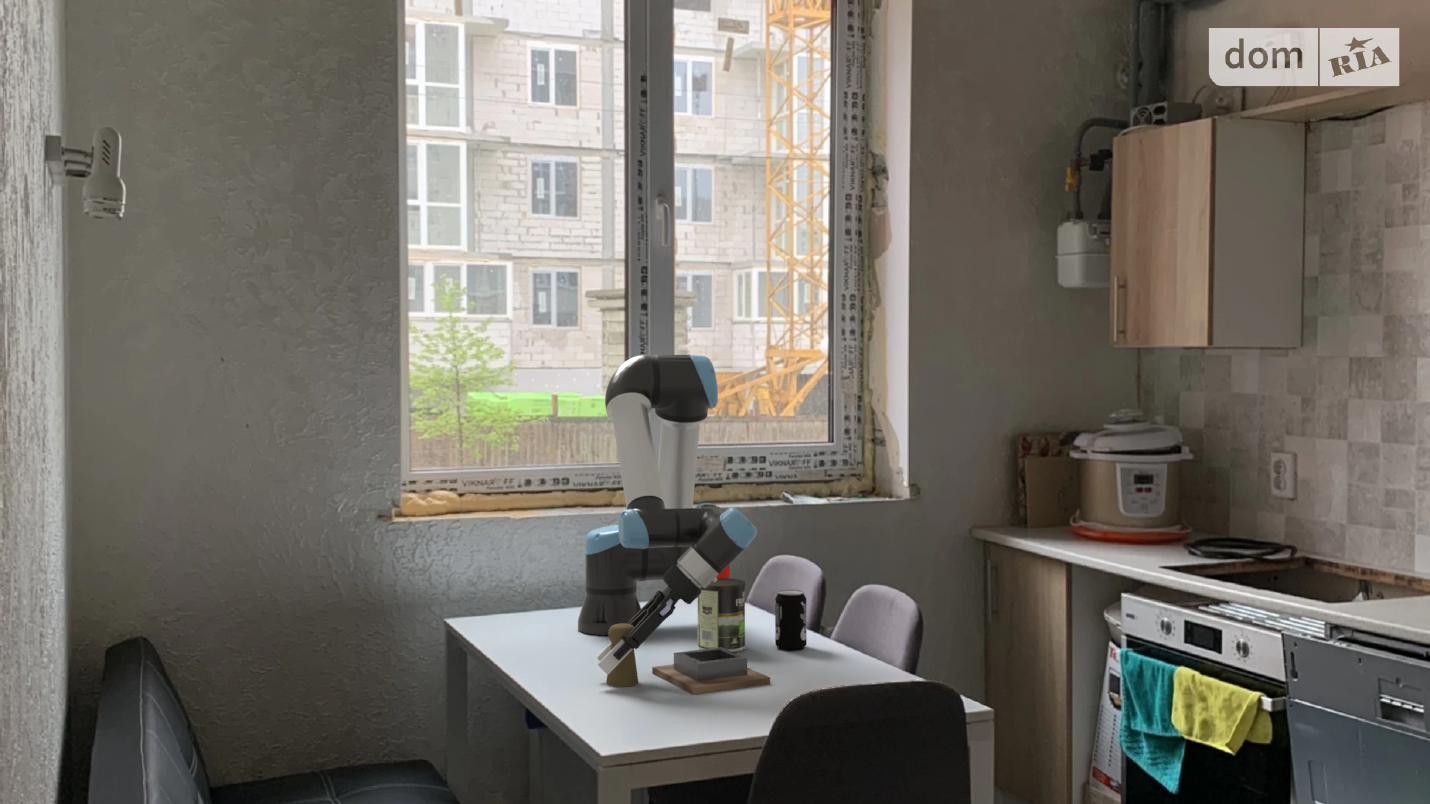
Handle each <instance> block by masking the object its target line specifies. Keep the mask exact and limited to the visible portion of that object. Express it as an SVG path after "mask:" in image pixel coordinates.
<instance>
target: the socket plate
mask: <svg viewBox="0 0 1430 804" xmlns="http://www.w3.org/2000/svg"><path fill="white" fill-rule="evenodd" d="M651 672H652V674H653V675H654V676H655V675H656V676H657V677H659V678H661V679H663V680H665V681H667V682H669V683H670V684H673V685H674V686H676V687H679V688H681V689H682V690H685V691H687V692H688V693H690V694H692V695H700V694H707V693H714V692H721V691H729V690H736V689H742V688H749V687H750V688H751V687H758V686H764V685H765V686H766V685H771V677H770V676H767V675H765V674H763V673H761V672H758V671H757V670H754V669H751V668H750V667H748V657H746V656H744V655H741V654H738V652H732V651H729V650H727V649H725V648H722V647H719V648H710V649H702V650H699V649H695V650H686V651H679V652H673V664H664V665H658V666H656V665H655V666H652V668H651Z"/></svg>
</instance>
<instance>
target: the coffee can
mask: <svg viewBox="0 0 1430 804" xmlns="http://www.w3.org/2000/svg"><path fill="white" fill-rule="evenodd" d="M745 587H746V581H745V580H742V579H739V578H738V579H737V578H730V577H729V578H717V581H716V582H713V581H711V583H710V584H709V585H708V586H707V587H706V588H703V587H702V588H701V590H702V591H701V594H700V595H699V596H698V597H697V647H696V648H697V650H702V649H710V648H719V647H722V648H725V649H727V650H729V651H732V652H734V653H738V652H741V651H744V650H745V649H746V608H745V607H746V598H745V597H746V591H745V590H746V588H745Z"/></svg>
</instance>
